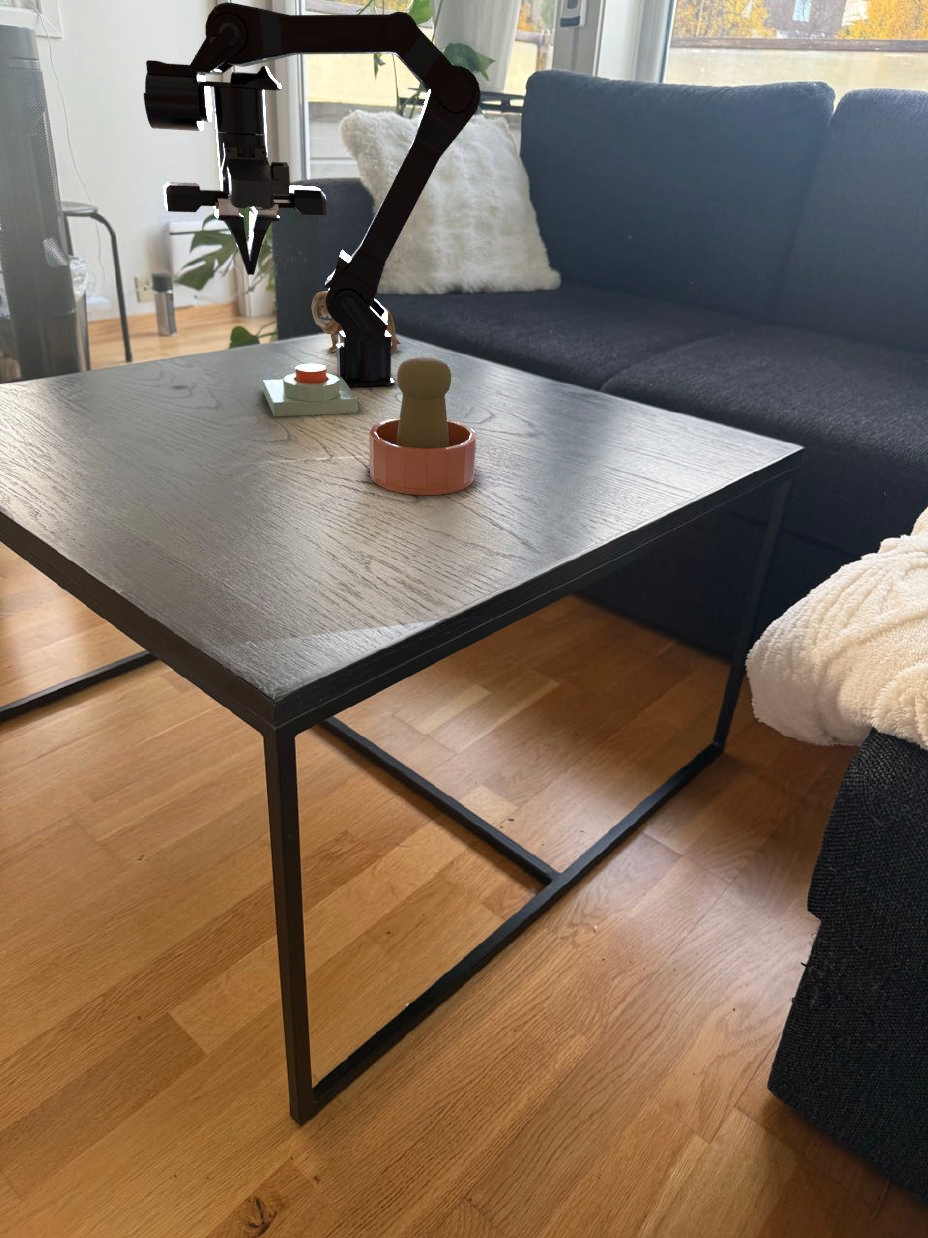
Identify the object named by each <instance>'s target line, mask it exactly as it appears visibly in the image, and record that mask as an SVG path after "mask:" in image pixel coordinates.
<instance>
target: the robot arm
mask: <svg viewBox="0 0 928 1238" xmlns="http://www.w3.org/2000/svg"><path fill="white" fill-rule="evenodd" d="M205 21H206V22H205V27H204V29H205V30H204V31H205V32H204V33H205V38H204V40H203V42H202V44H201V45H200V47H199V48H198V51H197V52H196V54H195V55H194V57H193V58H192V60H191V63H190V64H182V63H168V62H165V61H164V62H163V61H160V60H152V59H147V60H146V61H145V64H146V65H145V67H146V74H145V79H144V80H145V81H144V92H143V102H144V103H143V104H144V109H145V114H146V118H147V122H148V124H149V126H150V127H151V128H152V129H153V130H154V129H157V130H174V131H175V130H176V131H192V132H202V131H203V130H204V124H205V123H210V122H212V115H213V106H212V95H211V88H212V90H213V103H214V118H215V129H216V143H217V157H218V169H219V182H220V189H201V186H200V184H198V183H197V182H182V181H181V182H180V181H179V182H177V181H175V182H174V181H168V182H166V184H165V185H163V197H164V206H165V209H166V211H167V212H173V213H197V211H199V210H200V208H201V207H213V208H214V209H215V211H214V212H213V213H214V217H215V218H216V219H217V221H223V222H225V224H226V226H227V228H228V230H229V232H230V235H231V236H232V237H233V240H234V243H235V245H236V248H237V251H238V254H239V256H240V259H241V261H242V265H243V267H244V271H245V272H246V275H247V276H255V273H256V269H257V264H258V263H259V258H260V253H261V249H262V245H263V243H264V240H265V237H266V235H267V233H268V230H269V228H270V226H271V224H272V223H279V222H280V220H281V218H280V216H279V215H278V211H279V210H280V209H292V210H295V211H298V213H299V214H300V215H303V216H304V215H305V216H326V215H327V199H326V198H327V197H326V194H325V193H324V192H323V191H322V189H320V188H318V187H317V186H303V185H291V178H290V166H289V163H288V162H287V161H271V162H269V158H268V157H269V156H268V142H267V141H268V139H267V122H266V121H267V120H266V101H265V91H272V92H273V91H274V92H280V91H281V90H282V85H281V83H279V82H278V81H277V80H276V79H275V78H274V76H273V75H272V74H271V72H270V70H269V68H268V66H265V65H262V66H261V67H260V69H259V70H258V71H257V72H243V71H232V72H231V74H230V80H229V81H212V80H211V81H210V80H209V81H208V80H206V75H212V76H213V75H214V76H222V75H224V74H225V73H226V72H227V71H229V70H230V69H232V68H233V67H234V66H235V67H240V68H241V67H242V68H243V67H249V66H250V67H251V66H255V65H259V64H263V63H269V62H272V61H276V60H279V59H283V58H287V57H292V56H296V55H298V56H299V55H376V54H378V55H382V54H384V55H388V54H390V55H395V56H396V58H398V59H399V61H400V62H401V63H402V64H403V65H404V66H405V67H406V69H407V70H408V71H409V73H411V74H412V75H413V77H414V78H415V79H416V80H417V82H419V83H420V84H421V86H422V87H423V88H424V89H425V90H426V91H427V95H426V99H425V101H424V103H423V104H424V105H423V108H422V111H421V114H420V117H419V121H418V124H417V127H416V131H415V134H414V137H413V140H412V142H411V145H410V146H409V148H408V150H407V152H406V154H405V156H404V158H403V160H402V162H401V164H400V166H399V168H398V170H397V172H396V174H395V176H394V178H393V180H392V182H391V184H390V186H389V188H388V190H387V191H386V194H385V196H384V198H383V200H382V202H381V203H380V206H378V210H377V211H376V213H375V215H374V217H373V220H372V222H371V223H370V225H369V227H368V229H367V231H366V233H365V234H364V237H363V239H362V241H361V243H360V244H359V245H358V247H357V248H356V249H355V251H354V252H353V253H352V254H351V255H349V254H348V253H346V252H345V251H344V250H341V251H340V253H339V256H338V259H337V262H336V266H335V269H334V270H333V272H332V273H330V274H329V275H328V276H327V279H326V281H325V283H324V288H326V289H328V290H327V292H328V293H327V296H326V307H327V310H328V313H329V314H330V316H331V317H332V319H334V320H335V321H336V322H337V323H339V324H341V327H342V329H343V331H340V336H339V341H340V342H338V343H337V345H336V351H335V360H336V362H335V363H336V365H335V366H336V376H337V377H342V378H343V380H344V381H345V383H346V384H347V385H348V387H349V388H355V387H356V388H357V387H358V388H359V387H360V388H361V387H385V386H394V385H395V380H394V379H393V378H392V351H391V346H392V342H391V335H390V334H389V333H388V332H387V331H386V330H387V325H388V321H389V320H388V312H387V311H386V310H385V309H384V308H383V307H382V306H383V305H382V306H381V303H380V302H379V301H378V300H377V299H376V295H377V291H378V288H379V285H380V282H381V278H382V275H383V272H384V269H385V265H386V262H387V261H388V258H389V256H390V254H391V252H392V251H393V249H394V247H395V245H396V244H397V243H396V242H397V241H398V239H399V237H400V235H401V234H402V231H403V230H404V227H405V226H406V224H407V222H408V220H409V218H410V216H411V215H412V213H413V210H414V208H415V206H416V205H417V203H418V200H419V199H420V197H421V195H422V193H423V191H424V189H425V187H426V186H427V184H428V182H429V180H430V178H431V176H432V174H433V172H434V170H435V168H436V166H437V164H438V163H439V160H440V159H441V157H442V156H443V155H444V153H445V152H446V151H447V150H448V149H449V147H450V146H451V145H452V144H453V142H454V141H455V140H456V139H457V137H458V136H459V135H460V133H461V132H462V131H463V130H464V128H465V127H466V126H467V124H469V122H470V120H471V119H472V118H473V116H474V115H475V114H476V112H477V111H478V108H479V105H480V102H481V97H482V95H481V88H480V83H479V81H478V79H477V78H476V76H475V74H474V73H473V72H472V71H470V69H468V68H466V67H464V66H462V65H453V64H452V62H450V61H451V60H449V59H448V58H447V57H446V55H445V54H443V52H442V51H441V50H440V49H439V47H437V45H436V44H434V43H433V41H432V40H431V39H430V38H429V37H428V36H427V35H426V34H425V33H424V32H423V31H422V29H421V28H419V26H418V25H417V22H416V20H415V18H414V17H412V15H410V14H408V12H404V11H395V12H392V13H389V14H385V13H384V14H383V13H381V14H373V13H372V14H369V13H368V14H287V13H282V12H278V11H273V10H269V9H265V8H260V7H256V6H250V5H246V4H240V3H237V2H236V3H235V2H229V1H228V2H221V3H218V4H217V5H215V6H214V7H213V8H212V10H211V11H210V12H209V14H208V16H207V19H206V20H205ZM246 208H252V210H253V211H249V231H248V232H249V233H248V234H249V235H248V237H249V239H248V241H247V235H246V230H245V229H246V227H245V218H244V216H243V215H242V214H241V213H240V211H241V209H246Z"/></svg>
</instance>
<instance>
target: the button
mask: <svg viewBox="0 0 928 1238" xmlns="http://www.w3.org/2000/svg"><path fill="white" fill-rule="evenodd" d="M295 373H296V381H297V382H300V383H307V384H316V383H323V382H327V378H326V373H327V367H326V366H325V365H323V364H317V363H304V364H298V365H297V366H295Z"/></svg>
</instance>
